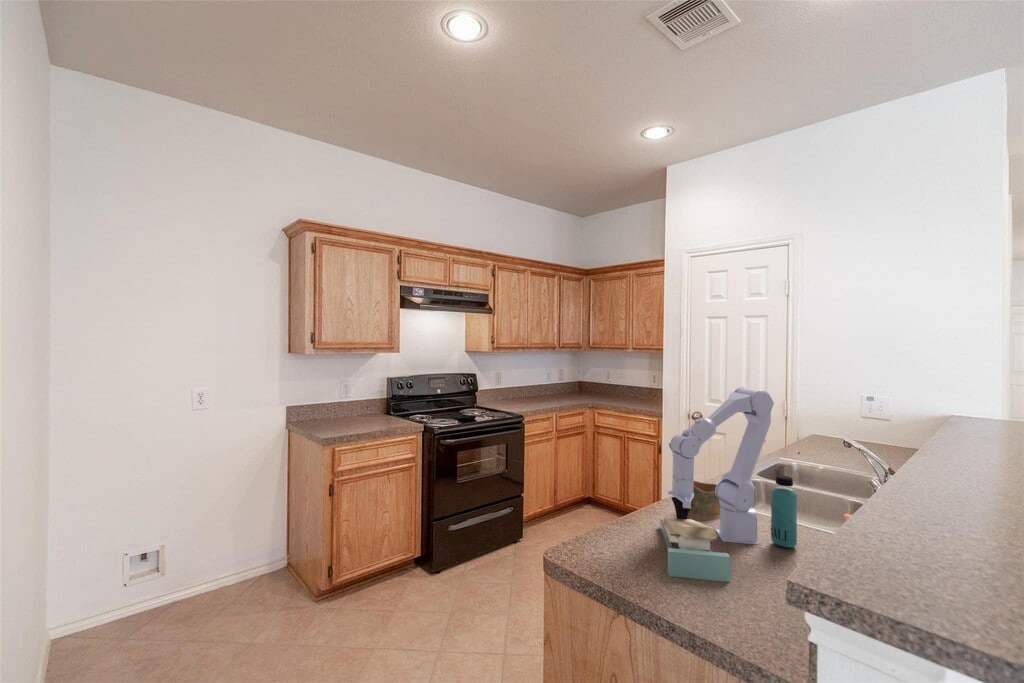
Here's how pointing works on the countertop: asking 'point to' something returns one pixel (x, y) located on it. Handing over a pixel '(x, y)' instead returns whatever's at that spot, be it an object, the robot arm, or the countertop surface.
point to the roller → (694, 543)
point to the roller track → (671, 537)
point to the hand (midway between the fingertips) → (681, 524)
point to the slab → (690, 528)
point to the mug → (705, 501)
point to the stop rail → (699, 564)
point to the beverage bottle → (784, 513)
